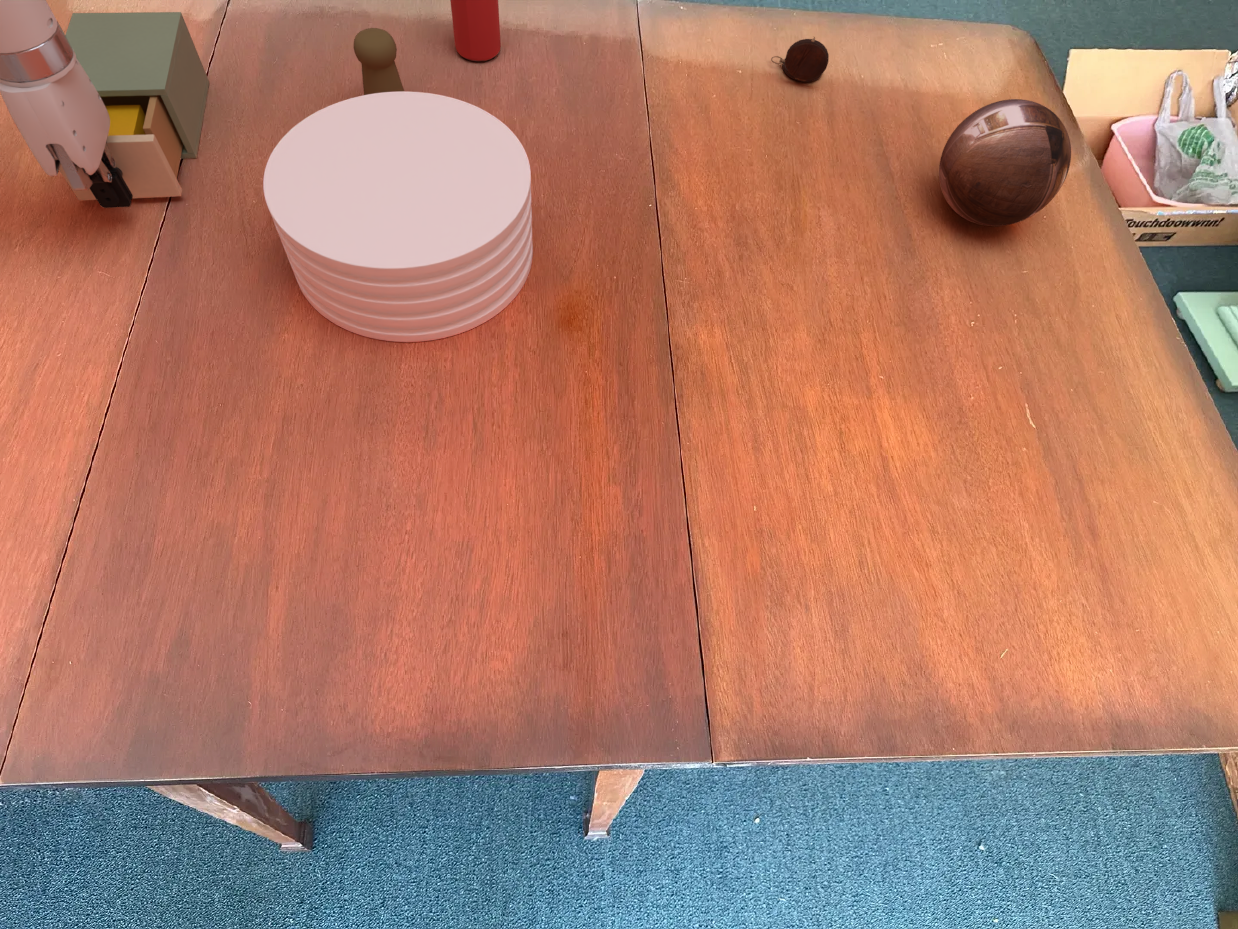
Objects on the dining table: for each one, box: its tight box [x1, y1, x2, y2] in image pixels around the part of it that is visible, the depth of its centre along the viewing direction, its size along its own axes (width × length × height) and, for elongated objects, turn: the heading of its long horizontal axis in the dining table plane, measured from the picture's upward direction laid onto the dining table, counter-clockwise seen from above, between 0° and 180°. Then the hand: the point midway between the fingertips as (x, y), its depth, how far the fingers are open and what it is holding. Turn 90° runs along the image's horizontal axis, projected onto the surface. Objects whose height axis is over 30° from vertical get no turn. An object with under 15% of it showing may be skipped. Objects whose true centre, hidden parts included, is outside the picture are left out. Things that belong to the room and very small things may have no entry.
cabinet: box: [65, 11, 210, 160], centre depth 97 cm, size 16×13×10 cm
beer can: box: [449, 0, 502, 62], centre depth 109 cm, size 7×7×12 cm
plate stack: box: [262, 90, 534, 343], centre depth 89 cm, size 28×28×12 cm
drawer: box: [58, 95, 183, 201], centre depth 93 cm, size 16×11×8 cm
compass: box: [770, 36, 830, 83], centre depth 115 cm, size 8×8×7 cm
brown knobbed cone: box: [353, 27, 405, 95], centre depth 101 cm, size 6×6×11 cm
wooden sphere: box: [938, 98, 1072, 227], centre depth 99 cm, size 15×15×15 cm
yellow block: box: [105, 105, 146, 136], centre depth 93 cm, size 5×6×5 cm
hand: (117, 202), depth 89 cm, fingers closed
